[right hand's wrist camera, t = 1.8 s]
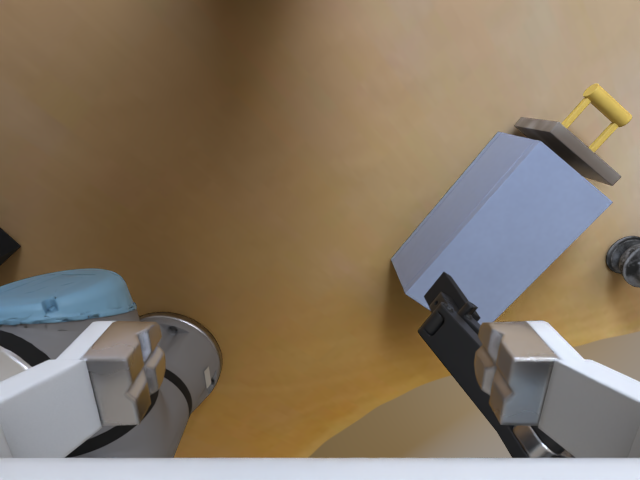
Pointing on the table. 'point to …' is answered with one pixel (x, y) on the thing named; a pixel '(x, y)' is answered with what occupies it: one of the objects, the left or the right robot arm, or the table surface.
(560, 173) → the cabinet
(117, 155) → the table surface
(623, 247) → the dark grey chess piece
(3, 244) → the black tall box
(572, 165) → the drawer
